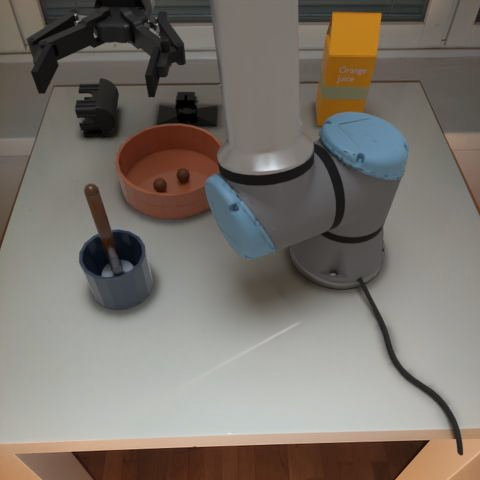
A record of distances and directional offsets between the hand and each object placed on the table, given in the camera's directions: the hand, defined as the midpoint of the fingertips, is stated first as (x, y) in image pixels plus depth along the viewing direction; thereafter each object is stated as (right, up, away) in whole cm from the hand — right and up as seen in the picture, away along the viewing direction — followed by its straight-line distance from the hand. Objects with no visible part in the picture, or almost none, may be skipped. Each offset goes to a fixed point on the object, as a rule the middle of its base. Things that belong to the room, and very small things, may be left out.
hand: (93, 85), depth 57 cm
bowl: (+5, -3, +31) cm, 32 cm away
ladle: (-1, -23, +17) cm, 29 cm away
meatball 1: (+3, -4, +28) cm, 28 cm away
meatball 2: (+7, -2, +29) cm, 30 cm away
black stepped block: (+7, +14, +42) cm, 45 cm away
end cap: (-11, +12, +41) cm, 44 cm away
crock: (-1, -23, +18) cm, 29 cm away
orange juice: (+38, +15, +43) cm, 59 cm away
